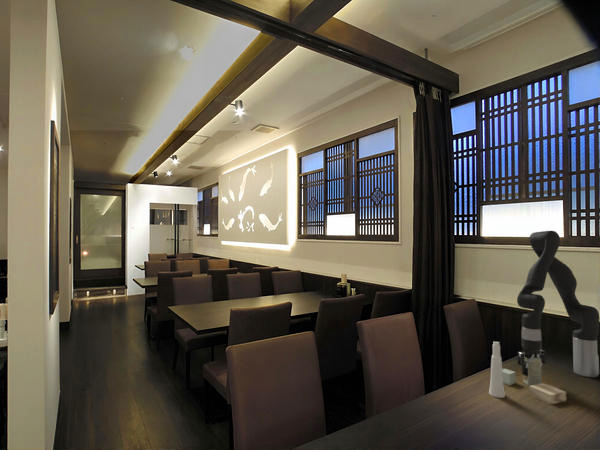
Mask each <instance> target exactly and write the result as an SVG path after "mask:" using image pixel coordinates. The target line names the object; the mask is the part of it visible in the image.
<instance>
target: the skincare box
mask: <svg viewBox="0 0 600 450" xmlns="http://www.w3.org/2000/svg"><path fill="white" fill-rule="evenodd" d="M524 359H525V360H529V358H526V357H524ZM525 364H526V362H525ZM527 368H528V376H525V375H523V374H522V381H523V383H524V384H525V385H527V386H528V387H529V386H531V385H536V384H542V383H543V376H542V373H543V371H542V370H541V359H540V358H537V357H536V358H533V359H532V361H531V363H530V364H529V365H528V367H527Z"/></svg>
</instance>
